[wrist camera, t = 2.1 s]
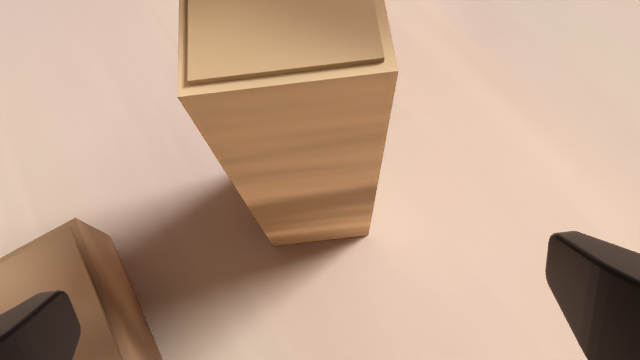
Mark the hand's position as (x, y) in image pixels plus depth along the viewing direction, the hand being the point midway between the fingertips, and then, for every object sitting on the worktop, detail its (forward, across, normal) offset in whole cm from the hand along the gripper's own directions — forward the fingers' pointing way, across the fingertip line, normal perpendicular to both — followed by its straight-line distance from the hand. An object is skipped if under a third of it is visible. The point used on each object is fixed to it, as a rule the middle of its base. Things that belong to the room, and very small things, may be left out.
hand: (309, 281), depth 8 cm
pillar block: (+13, 0, +4) cm, 14 cm away
